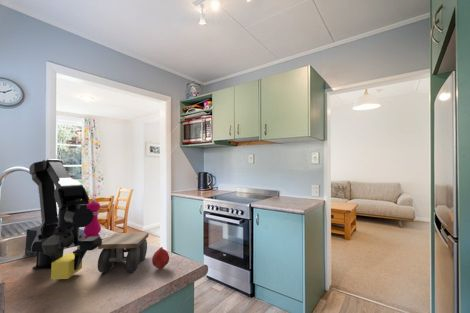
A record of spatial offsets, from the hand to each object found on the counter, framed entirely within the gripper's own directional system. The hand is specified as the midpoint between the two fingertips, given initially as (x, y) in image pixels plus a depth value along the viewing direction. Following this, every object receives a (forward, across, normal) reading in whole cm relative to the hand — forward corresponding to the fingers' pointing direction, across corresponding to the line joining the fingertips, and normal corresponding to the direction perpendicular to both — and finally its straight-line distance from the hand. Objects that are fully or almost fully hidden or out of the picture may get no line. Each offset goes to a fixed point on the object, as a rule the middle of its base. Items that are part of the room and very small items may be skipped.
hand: (67, 270), depth 71 cm
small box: (+3, -25, +24) cm, 35 cm away
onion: (+3, +29, +4) cm, 29 cm away
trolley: (+3, +15, +8) cm, 17 cm away
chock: (+1, 0, 0) cm, 1 cm away
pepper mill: (+3, -13, +38) cm, 40 cm away
